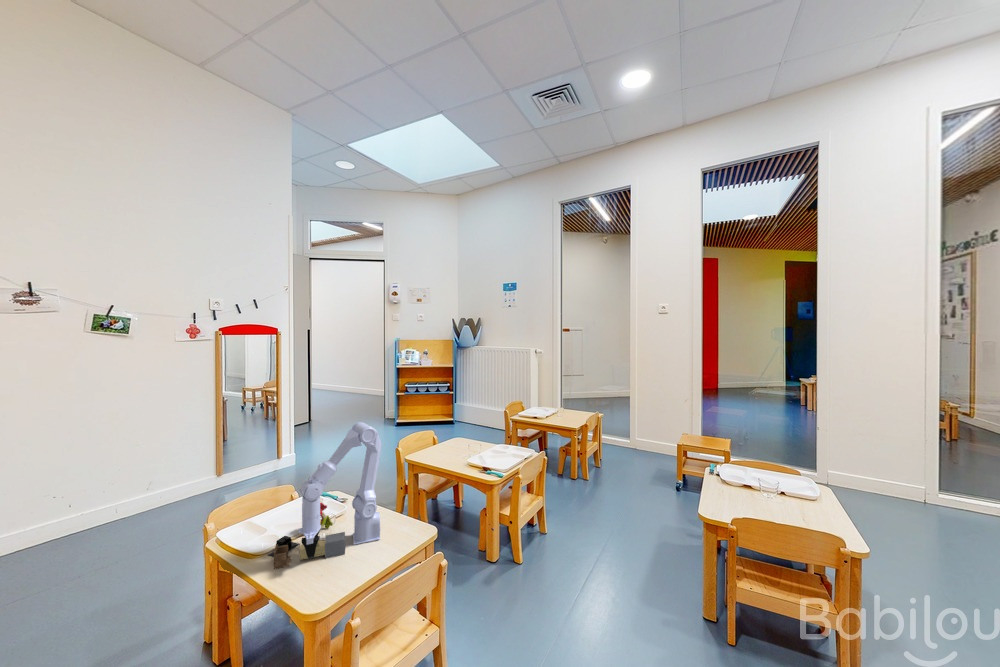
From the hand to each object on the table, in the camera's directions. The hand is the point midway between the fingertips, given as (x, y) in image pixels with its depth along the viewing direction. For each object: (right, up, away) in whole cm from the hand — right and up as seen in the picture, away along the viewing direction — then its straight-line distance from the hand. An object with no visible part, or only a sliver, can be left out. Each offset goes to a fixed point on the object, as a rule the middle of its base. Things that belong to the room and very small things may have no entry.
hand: (311, 553), depth 135 cm
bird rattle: (-5, -1, +17) cm, 18 cm away
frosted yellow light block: (+3, -1, +1) cm, 4 cm away
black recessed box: (-12, -2, +4) cm, 13 cm away
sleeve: (+7, -1, +3) cm, 8 cm away
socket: (-8, -1, -3) cm, 9 cm away
